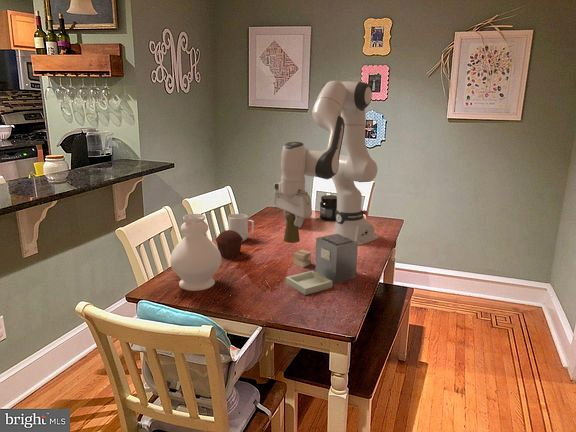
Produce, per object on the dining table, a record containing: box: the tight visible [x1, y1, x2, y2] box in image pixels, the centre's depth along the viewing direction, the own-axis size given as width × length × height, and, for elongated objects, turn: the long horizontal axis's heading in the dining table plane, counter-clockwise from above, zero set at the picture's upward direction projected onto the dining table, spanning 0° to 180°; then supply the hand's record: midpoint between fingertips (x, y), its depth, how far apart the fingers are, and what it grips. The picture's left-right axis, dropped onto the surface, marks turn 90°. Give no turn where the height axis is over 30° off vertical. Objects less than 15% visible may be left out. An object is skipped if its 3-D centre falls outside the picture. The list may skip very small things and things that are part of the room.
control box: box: [314, 233, 359, 284], centre depth 179 cm, size 10×12×14 cm
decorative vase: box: [169, 213, 222, 292], centre depth 169 cm, size 18×18×25 cm
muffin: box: [215, 229, 243, 259], centre depth 200 cm, size 12×11×10 cm
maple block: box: [292, 249, 312, 268], centre depth 191 cm, size 5×5×5 cm
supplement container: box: [319, 194, 337, 222], centre depth 254 cm, size 10×10×12 cm
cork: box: [283, 212, 300, 244], centre depth 177 cm, size 6×6×11 cm
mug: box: [227, 213, 255, 242], centre depth 219 cm, size 12×9×11 cm
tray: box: [285, 270, 334, 296], centre depth 171 cm, size 12×12×2 cm
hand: (292, 224), depth 177 cm, fingers closed on cork, 4 cm apart
